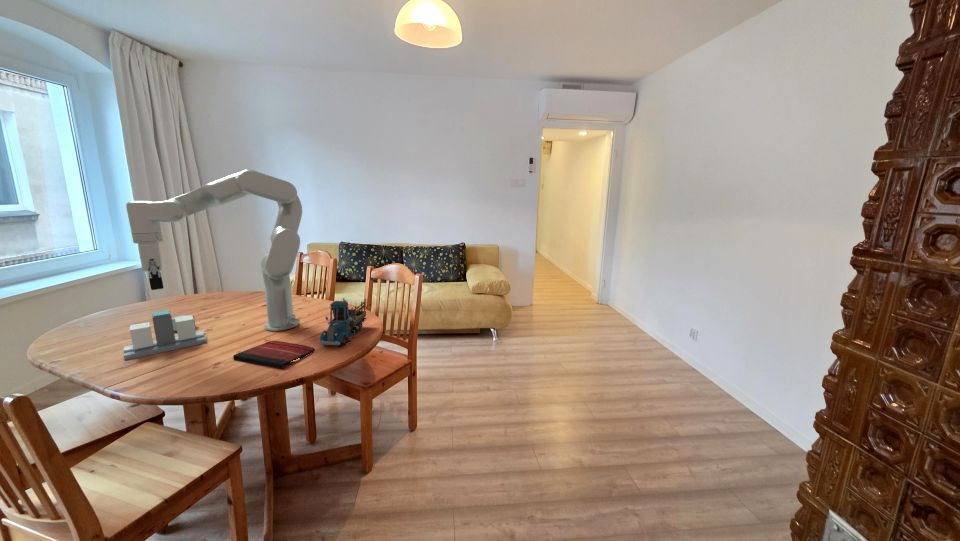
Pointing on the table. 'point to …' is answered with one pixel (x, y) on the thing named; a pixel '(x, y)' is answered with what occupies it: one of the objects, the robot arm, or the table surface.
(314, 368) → the table surface
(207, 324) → the table surface
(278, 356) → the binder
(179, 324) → the mounted modules
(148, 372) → the table surface
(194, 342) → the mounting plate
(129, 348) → the din rail
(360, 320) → the toy truck
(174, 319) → the power supply
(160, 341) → the block
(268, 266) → the robot arm
